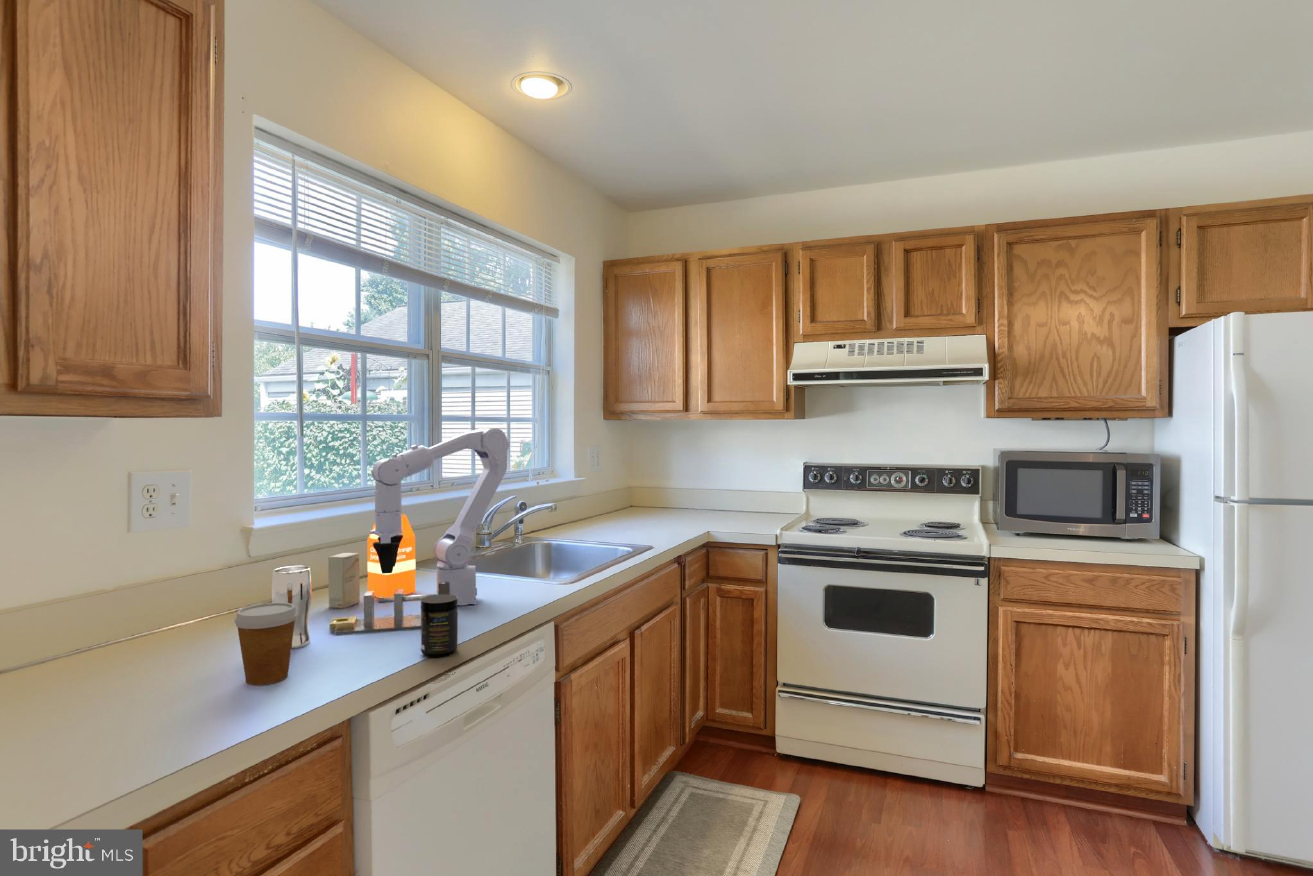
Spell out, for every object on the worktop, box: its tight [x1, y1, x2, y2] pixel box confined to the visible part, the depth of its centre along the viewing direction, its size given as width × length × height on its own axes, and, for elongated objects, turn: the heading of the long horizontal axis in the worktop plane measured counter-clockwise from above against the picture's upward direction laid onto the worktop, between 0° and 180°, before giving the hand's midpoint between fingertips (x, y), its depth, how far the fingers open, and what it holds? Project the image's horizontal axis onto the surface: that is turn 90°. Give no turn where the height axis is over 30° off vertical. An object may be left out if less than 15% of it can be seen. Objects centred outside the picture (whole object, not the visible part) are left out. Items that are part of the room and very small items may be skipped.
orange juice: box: [366, 513, 416, 598], centre depth 178 cm, size 8×9×20 cm
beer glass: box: [271, 565, 313, 650], centre depth 137 cm, size 7×7×15 cm
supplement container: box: [420, 594, 459, 659], centre depth 132 cm, size 7×7×10 cm
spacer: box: [329, 615, 358, 631], centre depth 148 cm, size 1×5×5 cm
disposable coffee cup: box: [233, 602, 298, 686], centre depth 119 cm, size 10×10×12 cm
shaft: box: [377, 582, 450, 604], centre depth 152 cm, size 15×2×6 cm, turn 106°
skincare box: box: [327, 552, 361, 609], centre depth 167 cm, size 6×4×12 cm
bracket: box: [334, 589, 421, 636], centre depth 150 cm, size 18×9×7 cm, turn 106°
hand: (388, 569), depth 160 cm, fingers open, 7 cm apart
